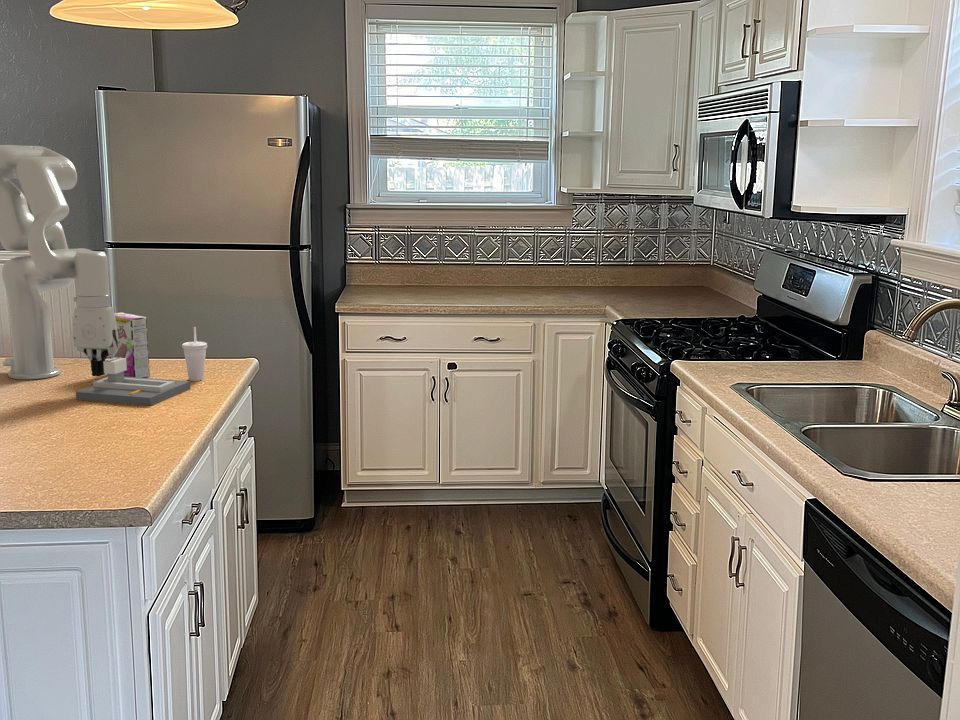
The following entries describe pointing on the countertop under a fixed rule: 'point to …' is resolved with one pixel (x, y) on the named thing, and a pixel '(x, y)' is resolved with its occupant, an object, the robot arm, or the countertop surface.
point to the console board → (133, 391)
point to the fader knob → (115, 369)
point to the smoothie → (195, 358)
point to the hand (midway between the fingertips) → (98, 375)
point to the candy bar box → (133, 344)
